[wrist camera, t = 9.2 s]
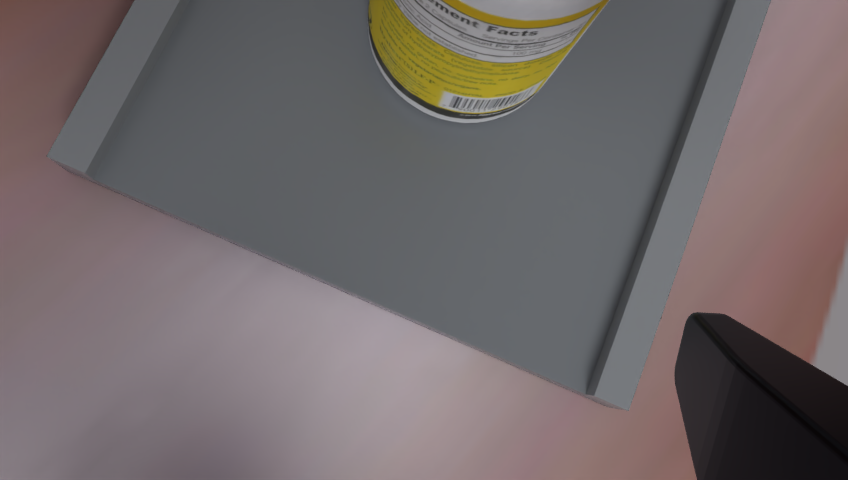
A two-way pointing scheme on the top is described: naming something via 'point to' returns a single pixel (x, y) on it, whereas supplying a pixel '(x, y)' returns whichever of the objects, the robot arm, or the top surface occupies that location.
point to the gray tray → (431, 167)
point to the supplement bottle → (474, 51)
